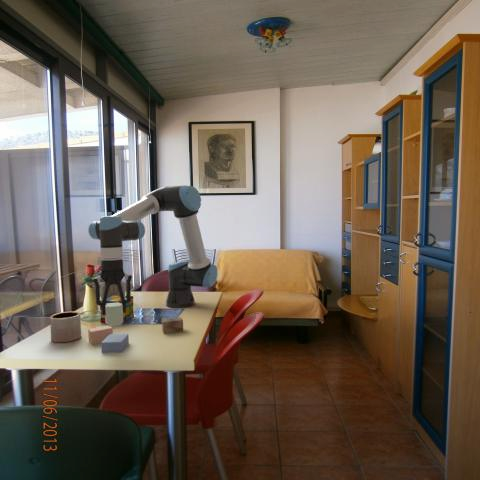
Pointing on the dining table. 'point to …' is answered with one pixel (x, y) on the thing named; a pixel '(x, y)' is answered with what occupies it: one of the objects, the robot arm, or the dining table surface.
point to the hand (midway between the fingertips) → (114, 322)
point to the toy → (115, 299)
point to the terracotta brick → (99, 334)
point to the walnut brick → (172, 325)
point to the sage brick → (114, 314)
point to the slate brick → (114, 343)
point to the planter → (65, 327)
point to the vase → (112, 290)
